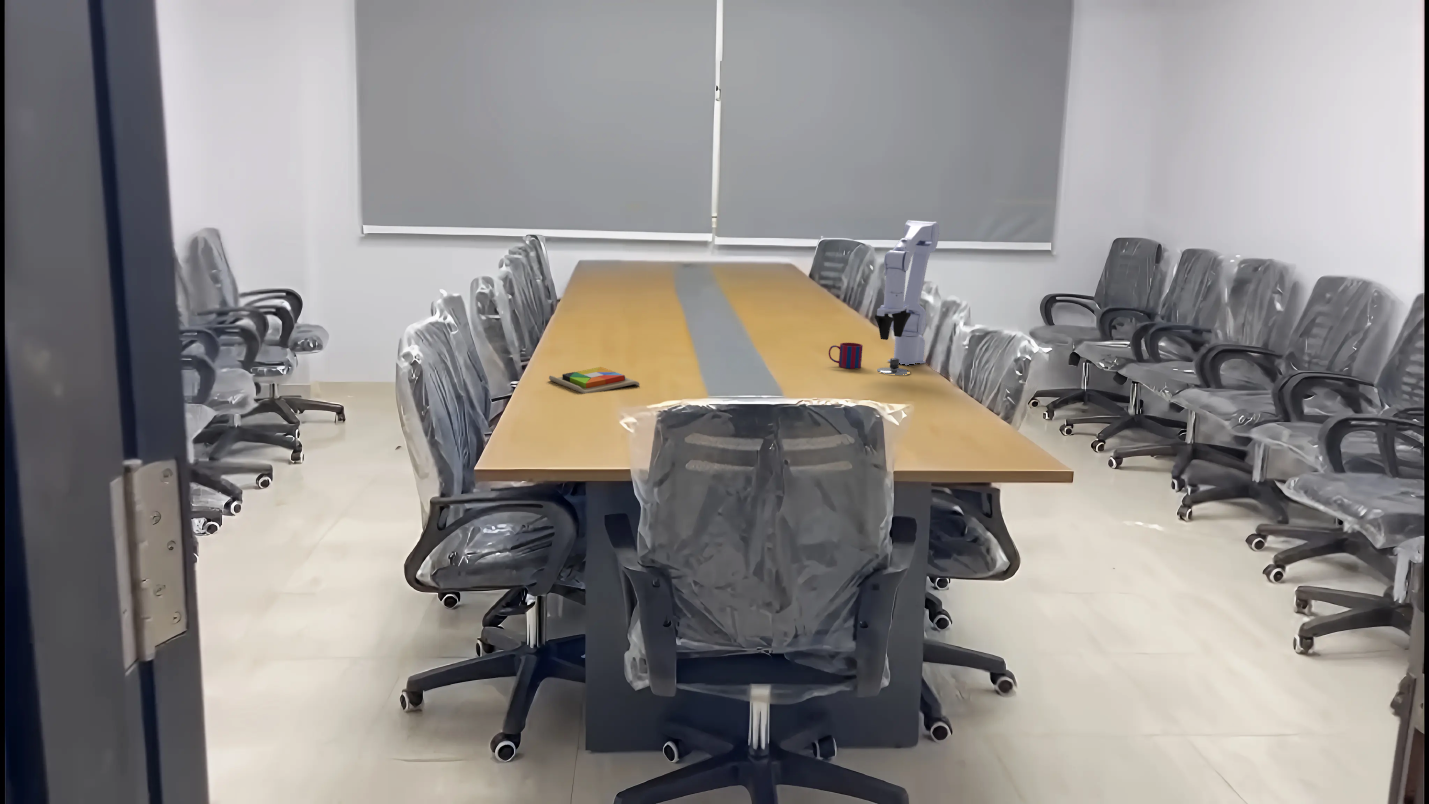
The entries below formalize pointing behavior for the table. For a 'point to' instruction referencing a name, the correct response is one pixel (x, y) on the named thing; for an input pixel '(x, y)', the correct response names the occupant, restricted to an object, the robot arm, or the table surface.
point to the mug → (849, 355)
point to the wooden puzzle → (593, 380)
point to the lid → (893, 368)
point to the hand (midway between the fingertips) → (891, 337)
